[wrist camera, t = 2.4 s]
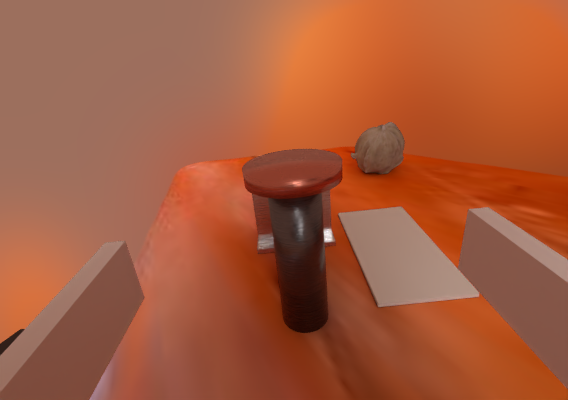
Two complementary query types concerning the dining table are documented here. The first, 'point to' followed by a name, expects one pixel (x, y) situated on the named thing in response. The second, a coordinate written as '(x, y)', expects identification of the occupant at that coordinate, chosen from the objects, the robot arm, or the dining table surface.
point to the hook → (297, 227)
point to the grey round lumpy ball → (379, 149)
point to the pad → (402, 259)
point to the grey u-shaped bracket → (266, 229)
